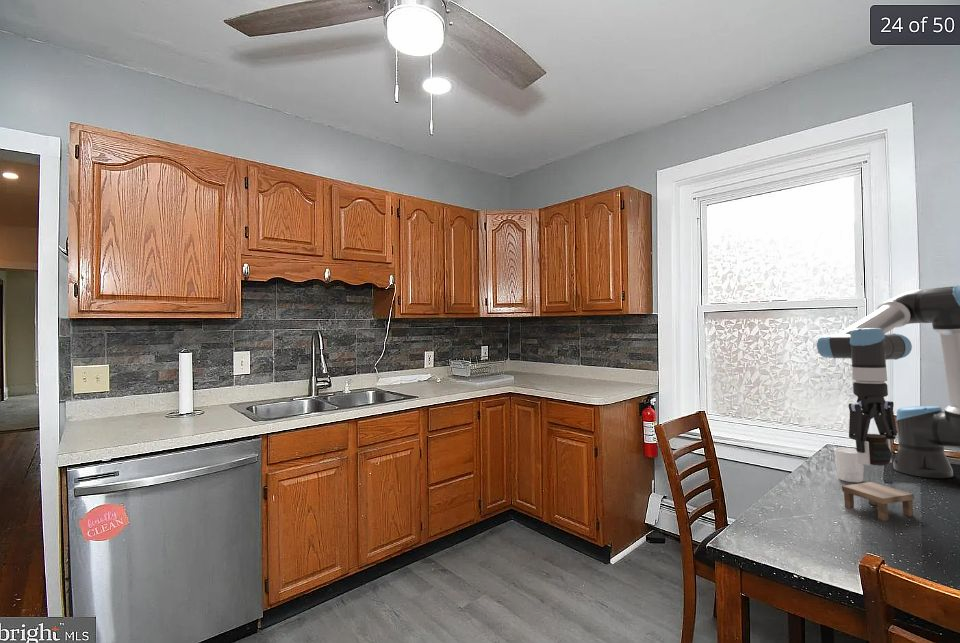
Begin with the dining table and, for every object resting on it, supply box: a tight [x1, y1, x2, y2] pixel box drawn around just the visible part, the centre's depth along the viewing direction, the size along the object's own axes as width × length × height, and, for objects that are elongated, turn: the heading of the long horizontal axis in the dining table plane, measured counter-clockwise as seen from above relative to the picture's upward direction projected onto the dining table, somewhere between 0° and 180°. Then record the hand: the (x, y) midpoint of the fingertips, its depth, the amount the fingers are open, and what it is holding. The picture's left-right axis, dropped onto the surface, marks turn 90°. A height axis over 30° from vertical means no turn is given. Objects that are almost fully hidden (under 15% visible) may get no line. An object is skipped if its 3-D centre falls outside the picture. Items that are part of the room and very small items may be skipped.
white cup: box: [833, 447, 865, 484], centre depth 156 cm, size 8×8×10 cm
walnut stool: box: [841, 481, 915, 522], centre depth 129 cm, size 11×11×6 cm
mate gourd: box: [861, 433, 893, 466], centre depth 129 cm, size 7×8×10 cm
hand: (874, 462), depth 129 cm, fingers closed on mate gourd, 7 cm apart
